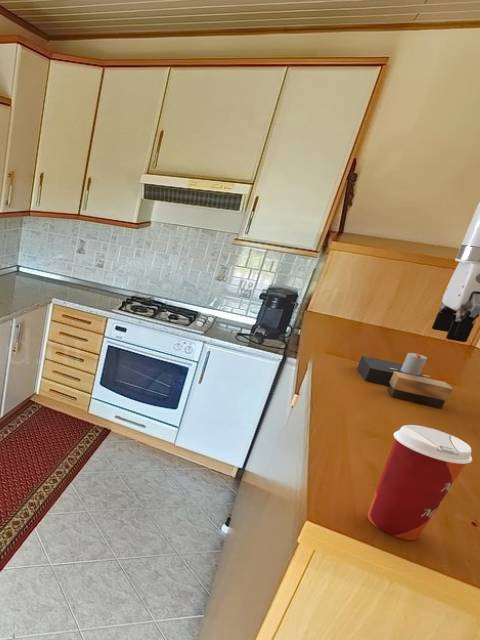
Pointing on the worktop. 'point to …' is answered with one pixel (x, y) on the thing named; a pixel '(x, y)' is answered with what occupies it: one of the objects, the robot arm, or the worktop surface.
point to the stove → (379, 370)
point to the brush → (419, 389)
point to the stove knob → (413, 364)
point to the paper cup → (416, 479)
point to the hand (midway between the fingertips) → (447, 335)
